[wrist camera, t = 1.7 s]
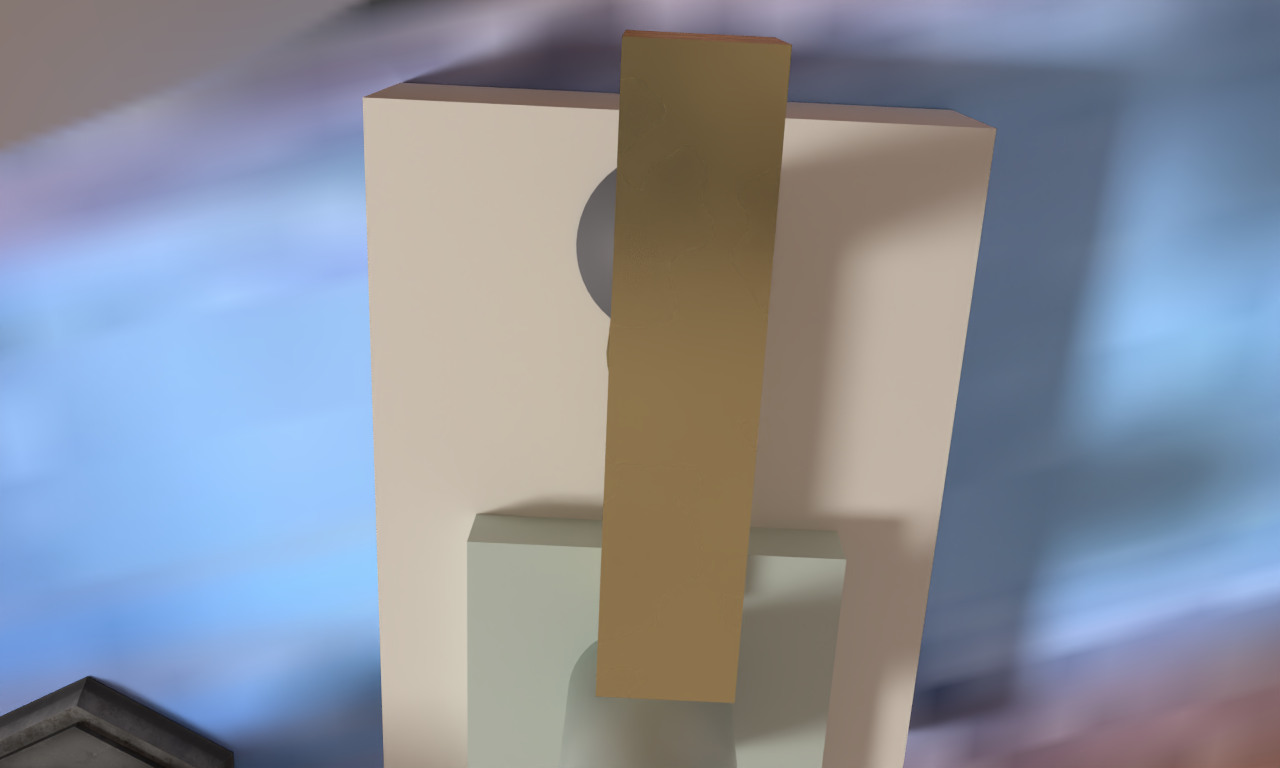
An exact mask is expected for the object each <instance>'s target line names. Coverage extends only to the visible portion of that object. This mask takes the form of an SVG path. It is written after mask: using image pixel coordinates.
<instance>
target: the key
mask: <svg viewBox="0 0 1280 768" xmlns="http://www.w3.org/2000/svg"><path fill="white" fill-rule="evenodd" d="M791 50H792V45H791V44H789V43H786V42H784V41H782V40H780V39H777V38H775V37H756V36H736V35H716V34H695V33H675V32H655V31H635V30H626V31H625V32H624V34H623V36H622V51H621V76H620V101H619V126H618V151H617V176H616V200H615V225H614V250H613V275H612V300H611V319H610V327H609V335H608V343H607V352H606V355H607V367H608V372H609V375H608V400H607V424H606V449H605V474H604V499H603V524H602V549H601V574H600V599H599V624H598V648H597V673H596V697H615V698H637V699H658V700H680V701H701V702H723V703H735V693H736V681H737V670H738V658H739V647H740V635H741V624H742V612H743V601H744V589H745V578H746V567H747V555H748V544H749V532H750V521H751V509H752V498H753V486H754V475H755V463H756V452H757V440H758V429H759V417H760V406H761V394H762V383H763V371H764V360H765V348H766V337H767V325H768V314H769V302H770V291H771V279H772V268H773V256H774V245H775V233H776V222H777V210H778V199H779V187H780V176H781V164H782V153H783V141H784V130H785V119H786V107H787V96H788V84H789V73H790V61H791Z"/></svg>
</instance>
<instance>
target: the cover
mask: <svg viewBox="0 0 1280 768" xmlns="http://www.w3.org/2000/svg"><path fill="white" fill-rule="evenodd" d="M602 524H603V520H591V519H570V518H549V517H528V516H507V515H486V514H476V516H475V519H474V522H473V525H472V528H471V531H470V534H469V537H468V540H467V717H468V768H822V760H823V752H824V744H825V735H826V727H827V718H828V710H829V702H830V693H831V685H832V676H833V668H834V660H835V651H836V643H837V634H838V626H839V618H840V609H841V601H842V592H843V584H844V576H845V567H846V557H845V554H844V551H843V548H842V545H841V542H840V539H839V536H838V533H837V531H823V530H802V529H781V528H760V527H750V532H749V544H748V555H747V567H746V578H745V589H744V601H743V612H742V624H741V635H740V647H739V658H738V670H737V681H736V693H735V703H723V702H701V701H680V700H658V699H637V698H615V697H596V673H597V648H598V624H599V599H600V574H601V549H602Z"/></svg>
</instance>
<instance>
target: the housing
mask: <svg viewBox="0 0 1280 768" xmlns="http://www.w3.org/2000/svg"><path fill="white" fill-rule="evenodd" d="M619 101H620V94H619V93H599V92H579V91H558V90H538V89H518V88H498V87H477V86H457V85H437V84H417V83H399V84H396V85H393V86H391V87H388V88H386V89H383V90H381V91H378V92H376V93H373V94H370V95H368V96H365V97H363V119H364V151H365V182H366V214H367V245H368V277H369V309H370V340H371V372H372V404H373V435H374V467H375V499H376V530H377V562H378V593H379V625H380V657H381V688H382V720H383V752H384V768H468V717H467V540H468V537H469V534H470V531H471V528H472V525H473V522H474V519H475V516H476V514H486V515H507V516H528V517H549V518H570V519H591V520H603V499H604V474H605V449H606V424H607V400H608V375H609V372H608V367H607V355H606V352H607V343H608V335H609V327H610V319H611V300H612V275H613V250H614V225H615V200H616V176H617V151H618V126H619ZM995 136H996V128H994V127H991V126H989V125H987V124H984V123H982V122H980V121H977V120H975V119H972V118H970V117H968V116H965V115H963V114H961V113H958V112H956V111H953V110H943V109H923V108H903V107H883V106H862V105H842V104H822V103H801V102H787V107H786V119H785V130H784V141H783V153H782V164H781V176H780V187H779V199H778V210H777V222H776V233H775V245H774V256H773V268H772V279H771V291H770V302H769V314H768V325H767V337H766V348H765V360H764V371H763V383H762V394H761V406H760V417H759V429H758V440H757V452H756V463H755V475H754V486H753V498H752V509H751V521H750V527H760V528H781V529H802V530H823V531H837V533H838V536H839V539H840V542H841V545H842V548H843V551H844V554H845V557H846V567H845V576H844V584H843V592H842V601H841V609H840V618H839V626H838V634H837V643H836V651H835V660H834V668H833V676H832V685H831V693H830V702H829V710H828V718H827V727H826V735H825V744H824V752H823V760H822V768H903V763H904V756H905V749H906V742H907V735H908V729H909V722H910V715H911V708H912V701H913V695H914V688H915V681H916V674H917V667H918V661H919V654H920V647H921V640H922V633H923V626H924V620H925V613H926V606H927V599H928V592H929V586H930V579H931V572H932V565H933V558H934V552H935V545H936V538H937V531H938V524H939V518H940V511H941V504H942V497H943V490H944V483H945V477H946V470H947V463H948V456H949V449H950V443H951V436H952V429H953V422H954V415H955V409H956V402H957V395H958V388H959V381H960V375H961V368H962V361H963V354H964V347H965V340H966V334H967V327H968V320H969V313H970V306H971V300H972V293H973V286H974V279H975V272H976V266H977V259H978V252H979V245H980V238H981V231H982V225H983V218H984V211H985V204H986V197H987V191H988V184H989V177H990V170H991V163H992V157H993V150H994V143H995Z"/></svg>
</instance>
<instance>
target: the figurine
mask: <svg viewBox="0 0 1280 768" xmlns="http://www.w3.org/2000/svg"><path fill="white" fill-rule="evenodd" d="M0 768H234V759H233V752H231V751H229V750H227V749H225V748H223V747H221V746H220V745H218V744H216V743H214V742H212V741H210V740H208V739H206V738H204V737H202V736H200V735H199V734H197V733H195V732H193V731H191V730H189V729H187V728H185V727H183V726H181V725H179V724H178V723H176V722H174V721H172V720H170V719H168V718H166V717H164V716H162V715H160V714H158V713H157V712H155V711H153V710H151V709H149V708H147V707H145V706H143V705H141V704H139V703H137V702H136V701H134V700H132V699H130V698H128V697H126V696H124V695H122V694H120V693H118V692H116V691H115V690H113V689H111V688H109V687H107V686H105V685H103V684H101V683H99V682H97V681H95V680H94V679H92V678H90V677H88V676H87V677H85V678H83V679H81V680H79V681H77V682H74V683H72V684H70V685H68V686H66V687H64V688H61V689H59V690H57V691H55V692H53V693H51V694H48V695H46V696H44V697H42V698H40V699H38V700H35V701H33V702H31V703H29V704H27V705H25V706H22V707H20V708H18V709H16V710H14V711H12V712H9V713H7V714H5V715H3V716H1V717H0Z"/></svg>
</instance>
